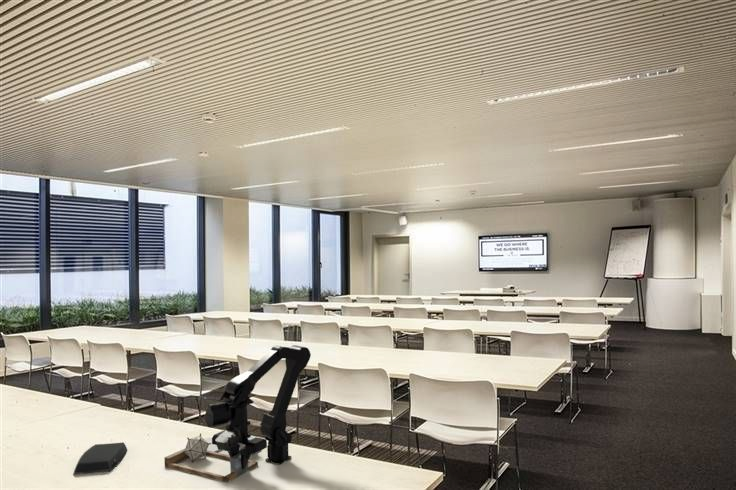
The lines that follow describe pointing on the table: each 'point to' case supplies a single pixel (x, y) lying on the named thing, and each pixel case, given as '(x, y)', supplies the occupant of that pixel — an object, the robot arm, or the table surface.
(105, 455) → the external hard drive
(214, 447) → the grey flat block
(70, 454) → the table surface
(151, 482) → the table surface
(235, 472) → the wooden tray frame
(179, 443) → the table surface
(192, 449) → the game die
